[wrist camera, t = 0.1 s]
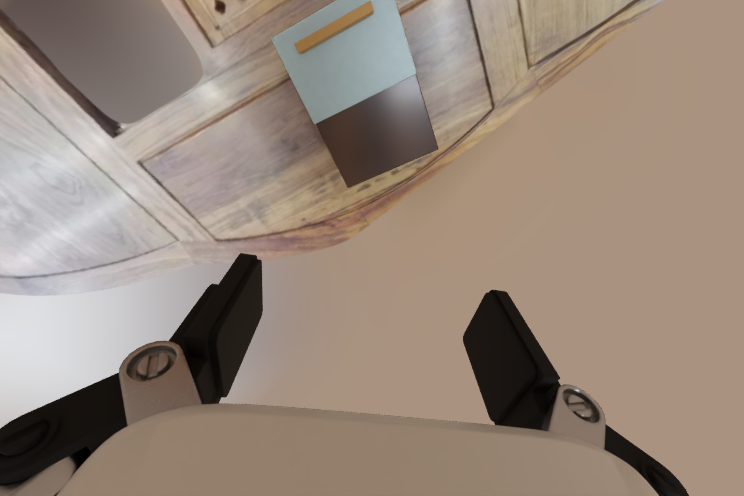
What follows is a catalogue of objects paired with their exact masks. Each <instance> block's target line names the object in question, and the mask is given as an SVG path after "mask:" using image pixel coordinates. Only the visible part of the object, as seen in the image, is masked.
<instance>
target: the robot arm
mask: <svg viewBox="0 0 744 496" xmlns="http://www.w3.org/2000/svg"><path fill="white" fill-rule="evenodd" d="M262 311H263V305H262V261H261V260H258V259H257V256H256V255H249V254H243V253H241V254H239V256H238V257H237V259H236V260H235V261H234V263H233V264H232V266H231V268H230V269H229V271H228V272H227V273H226V275H225V276H224V277H223V279H222V280H221V282H220V283H219V285H217V284H211V285H210V286H209V287H208V288H207V289H206V291H205V292H204V294H203V295H202V296H201V298H200V299H199V300H198V302H197V303H196V304H195V306H194V307H193V308H192V310H191V311H190V313H189V314H188V315H187V317H186V318H185V319H184V321H183V322H182V323H181V325H180V326H179V328H178V329H177V330H176V332H175V333H174V335H173V336H172V337H171V339H170V340H169V341H156V342H153V343H149V344H146V345H144V346H142V347H140V348H138V349H136V350H135V351H133V352H132V353H130V354H129V355H128V356H127V357H126V359H125V360H124V361H123V362H122V364H121V366H120V368H119V373H117V374H115V375H112V376H110V377H108V378H106V379H103V380H101V381H99V382H96V383H94V384H92V385H90V386H87V387H85V388H83V389H81V390H78V391H76V392H74V393H72V394H69V395H67V396H65V397H62V398H60V399H58V400H56V401H53V402H51V403H49V404H46V405H44V406H42V407H40V408H37V409H36V410H33V411H31V412H28V413H26V414H24V415H22V416H20V417H18V418H16V419H14V420H12V421H11V422H9V423H8V424H6V425H5V426H4V427H2V428H1V429H0V496H689V495H688V493H687V491H686V489H685V488H684V487H683V485H682V484H681V483H680V481H679V480H678V479H677V478H676V477H675V476H674V475H673V474H672V473H671V472H670V471H669V470H668V469H666V468H665V467H664V466H663V465H661V464H660V463H659V462H658V461H656V460H655V459H653V458H652V457H651V456H649V455H648V454H646V453H645V452H643V451H642V450H641V449H639V448H638V447H636V446H635V445H634V444H632V443H631V442H629V441H628V440H626V439H625V438H624V437H623V436H621V435H620V434H618V433H617V432H616V431H614V430H613V429H611V428H610V427H609V426H607V425H606V420H605V415H604V413H603V411H602V409H601V407H600V406H599V405H598V403H597V402H596V401H595V400H594V399H593V398H592V397H591V396H590V395H589V394H587V393H586V392H585V391H583V390H581V389H579V388H578V387H576V386H572V385H562V386H561V385H560V384H559V382H558V380H559V379H560V377H559V375H558V374H557V372H556V371H555V369H554V367H553V366H552V364H551V362H550V361H549V359H548V358H547V356H546V354H545V353H544V351H543V349H542V348H541V346H540V345H539V343H538V341H537V340H536V339H535V337H534V335H533V333H532V332H531V330H530V329H529V327H528V325H527V324H526V322H525V320H524V319H523V317H522V316H521V314H520V312H519V311H518V309H517V308H516V306H515V304H514V303H513V301H512V300H511V298H510V296H509V295H508V293H507V292H505V291H498V290H491V291H490V292H489V293H486V294H485V295H484V297H483V299H482V301H481V303H480V305H479V307H478V309H477V310H476V313H475V314H474V316H473V318H472V320H471V322H470V324H469V326H468V327H467V329H466V331H465V333H464V336H463V342H464V346H465V348H466V351H467V354H468V357H469V360H470V363H471V366H472V369H473V371H474V374H475V377H476V380H477V383H478V386H479V389H480V392H481V394H482V397H483V400H484V403H485V406H486V409H487V412H488V415H489V417H490V419H491V420H492V421H493V422H494V423H495V425H488V424H477V423H466V422H457V421H446V420H435V419H424V418H413V417H401V416H391V415H379V414H367V413H356V412H344V411H332V410H320V409H308V408H295V407H282V406H267V405H252V404H219V401H220V399H221V397H227V395H228V393H229V391H230V389H231V386H232V384H233V382H234V379H235V377H236V374H237V372H238V370H239V367H240V365H241V363H242V361H243V358H244V356H245V354H246V351H247V349H248V346H249V344H250V342H251V340H252V337H253V335H254V333H255V330H256V328H257V326H258V323H259V321H260V319H261V316H262Z"/></svg>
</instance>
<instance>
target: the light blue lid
mask: <svg viewBox="0 0 744 496" xmlns="http://www.w3.org/2000/svg"><path fill="white" fill-rule="evenodd" d="M271 40H272V42H273V44H274V46H275V48H276V50H277V52H278V54H279V56H280V58H281V60H282V62H283V64H284V66H285V68H286V70H287V72H288V74H289V76H290V78H291V80H292V82H293V84H294V86H295V88H296V90H297V92H298V94H299V96H300V98H301V99H302V101H303V103H304V105H305V107H306V109H307V111H308V113H309V115H310V117H311V119H312V121H313V123H314V124H316V123H318V122H320V121H322V120H324V119H326V118H329V117H331V116H333V115H335V114H337V113H339V112H341V111H343V110H345V109H347V108H349V107H351V106H353V105H355V104H357V103H359V102H361V101H363V100H365V99H367V98H369V97H371V96H373V95H375V94H377V93H379V92H381V91H383V90H385V89H387V88H389V87H391V86H393V85H395V84H397V83H399V82H401V81H403V80H405V79H407V78H409V77H411V76H413V75H415V74H417V72H416V69H415V65H414V62H413V59H412V55H411V52H410V48H409V45H408V42H407V38H406V35H405V32H404V28H403V25H402V22H401V18H400V15H399V12H398V8H397V5H396V2H395V0H335V1H334V2H332V3H330V4H329V5H327V6H325V7H323V8H322V9H320V10H318V11H317V12H315V13H313V14H312V15H310V16H308V17H306V18H305V19H303V20H301V21H300V22H298V23H296V24H294V25H293V26H291V27H289V28H288V29H286V30H284V31H283V32H281V33H279V34H277V35H276V36H274V37H272V38H271Z"/></svg>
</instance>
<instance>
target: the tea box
mask: <svg viewBox="0 0 744 496" xmlns="http://www.w3.org/2000/svg"><path fill="white" fill-rule="evenodd" d="M316 125H317V127H318V129H319V131H320V133H321V135H322V137H323V139H324V141H325V143H326V145H327V147H328V149H329V151H330V153H331V155H332V157H333V159H334V161H335V163H336V165H337V167H338V169H339V171H340V173H341V175H342V177H343V179H344V181H345V183H346V185H347V187H348V188H349V187H352V186H354V185H356V184H359V183H361V182H363V181H366V180H368V179H370V178H373V177H375V176H377V175H380V174H382V173H384V172H387V171H389V170H391V169H393V168H396V167H398V166H400V165H403V164H405V163H407V162H410V161H412V160H414V159H417V158H419V157H421V156H424V155H426V154H428V153H431V152H433V151H435V150H438V146H437V142H436V139H435V136H434V132H433V129H432V126H431V122H430V119H429V116H428V113H427V109H426V106H425V103H424V99H423V96H422V93H421V89H420V86H419V83H418V79H417V76H416V74H415V75H413V76H411V77H409V78H407V79H405V80H403V81H401V82H399V83H397V84H395V85H393V86H391V87H389V88H387V89H385V90H383V91H381V92H379V93H377V94H375V95H373V96H371V97H369V98H367V99H365V100H363V101H361V102H359V103H357V104H355V105H353V106H351V107H349V108H347V109H345V110H343V111H341V112H339V113H337V114H335V115H333V116H331V117H329V118H326V119H324V120H322V121H320V122H318V123H316Z"/></svg>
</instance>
